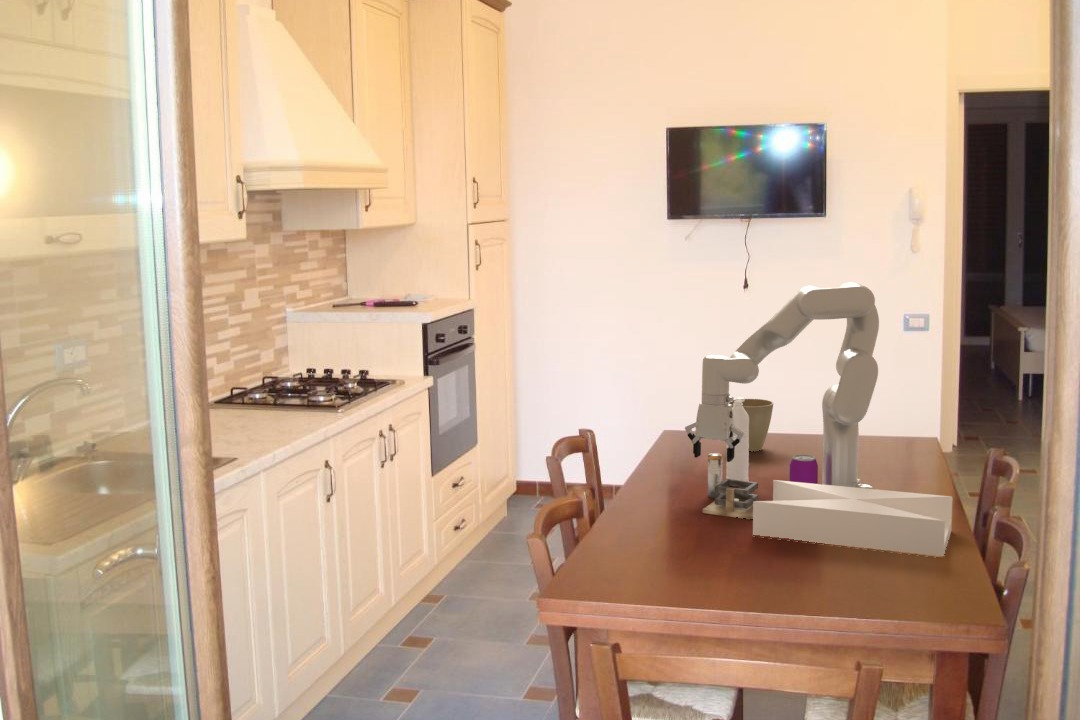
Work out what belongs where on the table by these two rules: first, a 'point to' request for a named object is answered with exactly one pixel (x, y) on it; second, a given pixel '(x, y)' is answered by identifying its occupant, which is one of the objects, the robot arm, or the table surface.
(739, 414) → the water bottle
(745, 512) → the collar stand
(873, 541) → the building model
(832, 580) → the table surface
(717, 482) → the steel tube
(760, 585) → the table surface
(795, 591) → the table surface
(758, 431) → the plant pot
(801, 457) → the beverage can
